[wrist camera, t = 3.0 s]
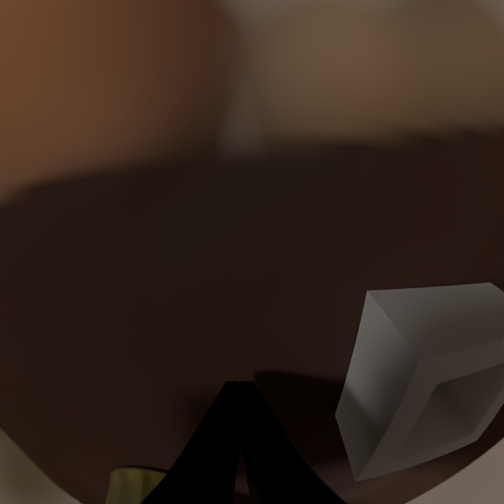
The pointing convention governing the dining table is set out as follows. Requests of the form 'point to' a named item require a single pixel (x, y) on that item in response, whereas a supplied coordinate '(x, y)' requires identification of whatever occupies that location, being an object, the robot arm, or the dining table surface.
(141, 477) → the olive ribbed cylinder
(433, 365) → the socket block
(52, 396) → the dining table surface
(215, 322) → the dining table surface
